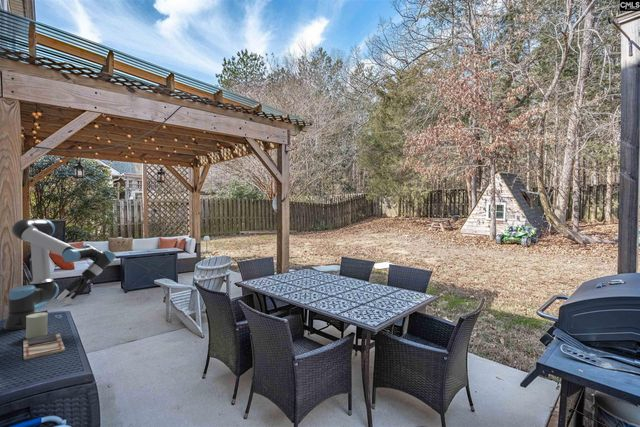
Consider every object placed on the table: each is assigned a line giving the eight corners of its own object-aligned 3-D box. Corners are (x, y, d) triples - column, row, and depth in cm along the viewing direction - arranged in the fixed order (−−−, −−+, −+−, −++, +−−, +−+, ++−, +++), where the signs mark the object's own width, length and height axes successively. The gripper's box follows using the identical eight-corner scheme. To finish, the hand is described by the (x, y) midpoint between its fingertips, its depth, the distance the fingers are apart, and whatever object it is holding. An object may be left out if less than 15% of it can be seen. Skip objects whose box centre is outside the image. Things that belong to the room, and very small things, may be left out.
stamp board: (23, 342, 168) (23, 338, 168) (59, 335, 178) (59, 331, 178) (23, 360, 148) (23, 356, 148) (64, 351, 158) (64, 347, 158)
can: (34, 339, 172) (34, 317, 172) (20, 337, 173) (21, 316, 174) (51, 333, 181) (52, 312, 181) (38, 331, 182) (39, 311, 183)
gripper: (105, 278, 193) (75, 308, 181) (89, 273, 207) (60, 301, 195) (94, 270, 189) (63, 301, 176) (79, 266, 203) (49, 294, 191)
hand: (62, 301), depth 186 cm, fingers open, 13 cm apart
